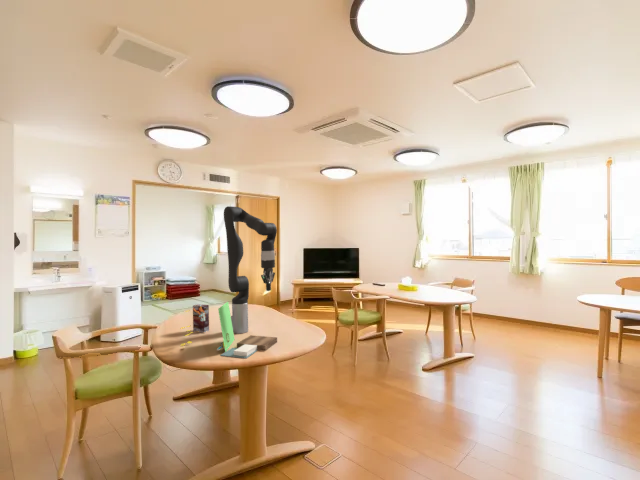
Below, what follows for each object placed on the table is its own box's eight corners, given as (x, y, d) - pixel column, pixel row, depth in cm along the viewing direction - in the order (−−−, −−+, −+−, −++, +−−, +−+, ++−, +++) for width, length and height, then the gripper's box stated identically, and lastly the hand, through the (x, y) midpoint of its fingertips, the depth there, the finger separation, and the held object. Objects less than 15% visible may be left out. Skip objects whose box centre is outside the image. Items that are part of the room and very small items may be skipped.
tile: (233, 355, 158) (233, 350, 158) (244, 348, 167) (244, 344, 167) (246, 356, 156) (246, 352, 156) (257, 349, 165) (257, 345, 165)
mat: (220, 355, 158) (220, 355, 158) (232, 348, 169) (232, 347, 169) (246, 358, 154) (246, 357, 154) (257, 350, 164) (257, 349, 164)
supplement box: (192, 331, 200) (192, 305, 200) (198, 329, 205) (197, 303, 204) (204, 333, 197) (203, 306, 197) (209, 330, 201) (209, 304, 201)
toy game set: (190, 347, 182) (183, 304, 182) (235, 339, 183) (228, 296, 183) (174, 361, 160) (166, 312, 160) (226, 352, 161) (218, 303, 162)
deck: (237, 348, 169) (236, 343, 169) (250, 339, 182) (250, 335, 182) (265, 350, 164) (265, 345, 164) (277, 342, 177) (277, 337, 177)
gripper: (267, 258, 189) (267, 288, 189) (256, 260, 176) (256, 292, 176) (279, 258, 187) (279, 288, 187) (268, 260, 174) (269, 292, 174)
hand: (268, 290), depth 182 cm, fingers closed
